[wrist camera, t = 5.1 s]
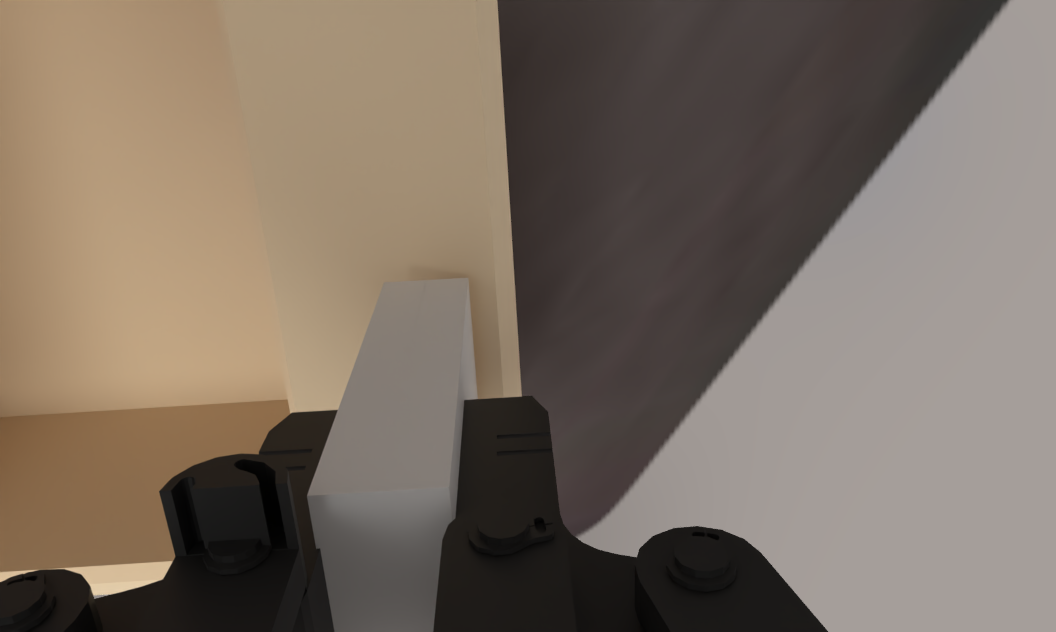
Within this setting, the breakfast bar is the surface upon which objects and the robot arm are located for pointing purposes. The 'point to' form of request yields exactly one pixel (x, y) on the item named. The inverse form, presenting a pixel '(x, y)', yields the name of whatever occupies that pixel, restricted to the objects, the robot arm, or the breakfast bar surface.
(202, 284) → the carton
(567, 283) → the breakfast bar surface
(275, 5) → the flap
